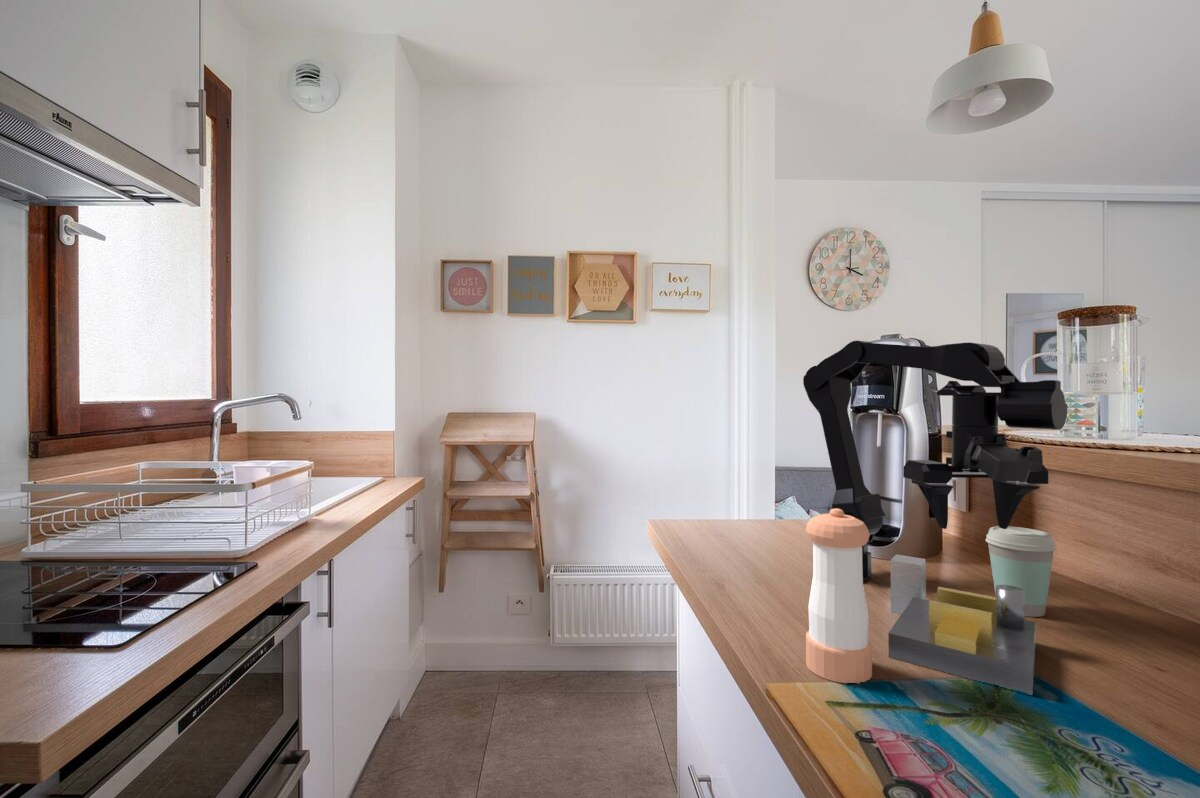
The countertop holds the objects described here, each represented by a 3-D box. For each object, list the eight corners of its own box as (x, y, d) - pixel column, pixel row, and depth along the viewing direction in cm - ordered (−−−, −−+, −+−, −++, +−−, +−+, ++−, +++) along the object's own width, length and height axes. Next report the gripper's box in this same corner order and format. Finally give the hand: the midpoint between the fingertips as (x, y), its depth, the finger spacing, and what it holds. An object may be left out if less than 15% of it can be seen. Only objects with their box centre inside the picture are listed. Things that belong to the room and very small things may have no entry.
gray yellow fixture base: (888, 656, 66) (888, 597, 67) (913, 617, 79) (913, 566, 79) (1032, 696, 57) (1031, 627, 58) (1035, 644, 70) (1034, 587, 70)
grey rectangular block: (891, 612, 81) (890, 560, 81) (896, 605, 84) (896, 554, 84) (921, 619, 78) (920, 565, 78) (926, 611, 81) (925, 559, 81)
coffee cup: (1071, 623, 77) (1070, 539, 77) (1004, 618, 78) (1003, 537, 78) (1035, 601, 85) (1034, 526, 85) (975, 597, 87) (974, 524, 87)
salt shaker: (840, 689, 59) (839, 517, 59) (792, 660, 66) (791, 506, 66) (886, 676, 62) (884, 511, 62) (836, 649, 69) (834, 501, 69)
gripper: (949, 429, 72) (947, 543, 72) (1084, 430, 73) (1082, 543, 73) (901, 424, 83) (900, 523, 84) (1018, 425, 84) (1017, 523, 84)
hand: (973, 528), depth 81 cm, fingers open, 9 cm apart
